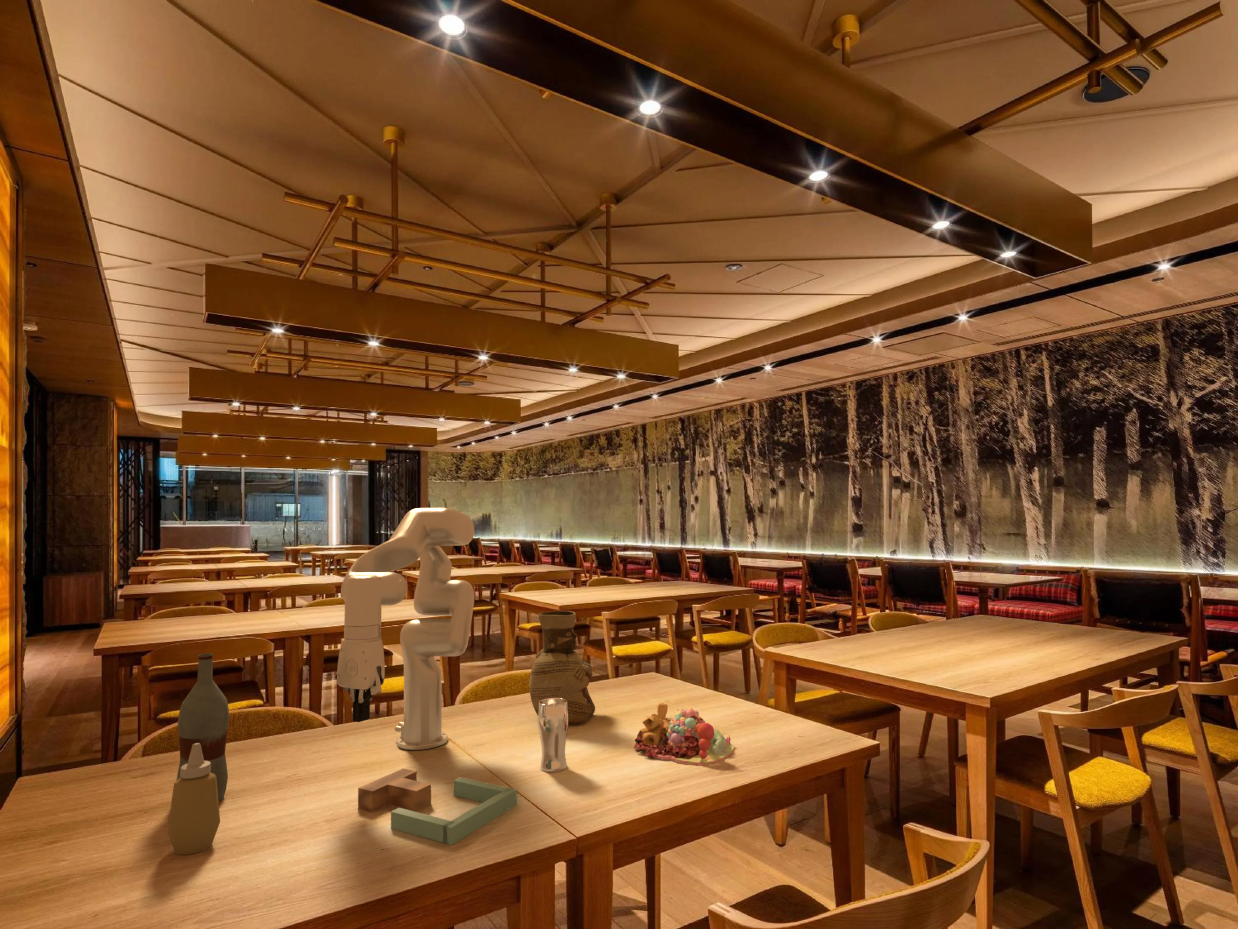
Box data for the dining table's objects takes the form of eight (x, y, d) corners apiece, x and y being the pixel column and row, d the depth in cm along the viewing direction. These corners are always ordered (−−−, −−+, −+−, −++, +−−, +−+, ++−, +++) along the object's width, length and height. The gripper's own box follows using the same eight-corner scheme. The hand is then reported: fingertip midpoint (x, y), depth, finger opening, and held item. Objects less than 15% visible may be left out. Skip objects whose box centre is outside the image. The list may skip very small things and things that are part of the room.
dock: (390, 828, 129) (391, 811, 129) (460, 791, 145) (460, 777, 146) (451, 845, 122) (451, 827, 122) (517, 805, 138) (516, 789, 138)
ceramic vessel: (614, 716, 199) (612, 611, 201) (558, 733, 184) (556, 619, 186) (572, 704, 212) (570, 606, 215) (516, 719, 198) (515, 613, 200)
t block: (358, 808, 138) (358, 788, 138) (403, 787, 149) (403, 768, 149) (401, 820, 132) (401, 798, 133) (444, 797, 143) (444, 777, 143)
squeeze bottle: (182, 838, 126) (185, 738, 127) (228, 836, 127) (230, 736, 128) (156, 860, 118) (159, 752, 119) (205, 857, 119) (208, 750, 120)
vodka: (172, 813, 137) (177, 660, 139) (177, 797, 145) (181, 653, 148) (226, 803, 141) (230, 655, 144) (228, 788, 150) (231, 648, 152)
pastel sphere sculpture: (620, 757, 165) (619, 718, 166) (652, 729, 187) (651, 694, 188) (722, 770, 156) (721, 728, 157) (743, 738, 178) (742, 702, 178)
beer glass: (564, 774, 154) (563, 705, 156) (534, 772, 156) (533, 704, 157) (572, 763, 161) (571, 697, 162) (543, 761, 163) (543, 697, 164)
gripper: (324, 633, 149) (322, 720, 147) (373, 637, 142) (371, 729, 140) (353, 628, 155) (351, 712, 154) (400, 632, 148) (399, 720, 147)
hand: (361, 720), depth 147 cm, fingers closed
